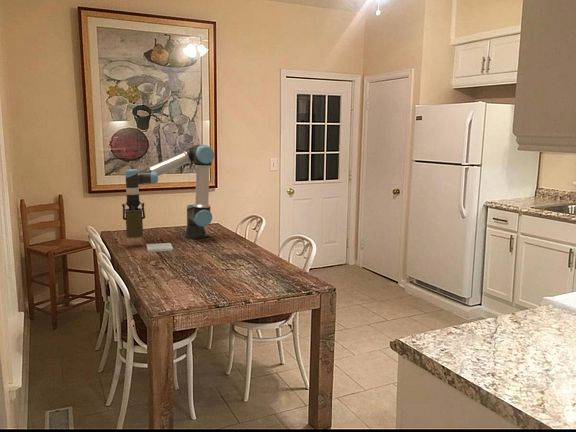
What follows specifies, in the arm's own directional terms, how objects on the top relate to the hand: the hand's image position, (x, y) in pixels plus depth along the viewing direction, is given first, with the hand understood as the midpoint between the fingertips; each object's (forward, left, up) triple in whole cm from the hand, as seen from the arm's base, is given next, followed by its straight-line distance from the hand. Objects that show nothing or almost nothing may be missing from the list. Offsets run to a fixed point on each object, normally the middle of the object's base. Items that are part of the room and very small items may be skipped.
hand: (134, 229), depth 310 cm
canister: (0, 0, -4) cm, 4 cm away
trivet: (-14, +10, -11) cm, 21 cm away
